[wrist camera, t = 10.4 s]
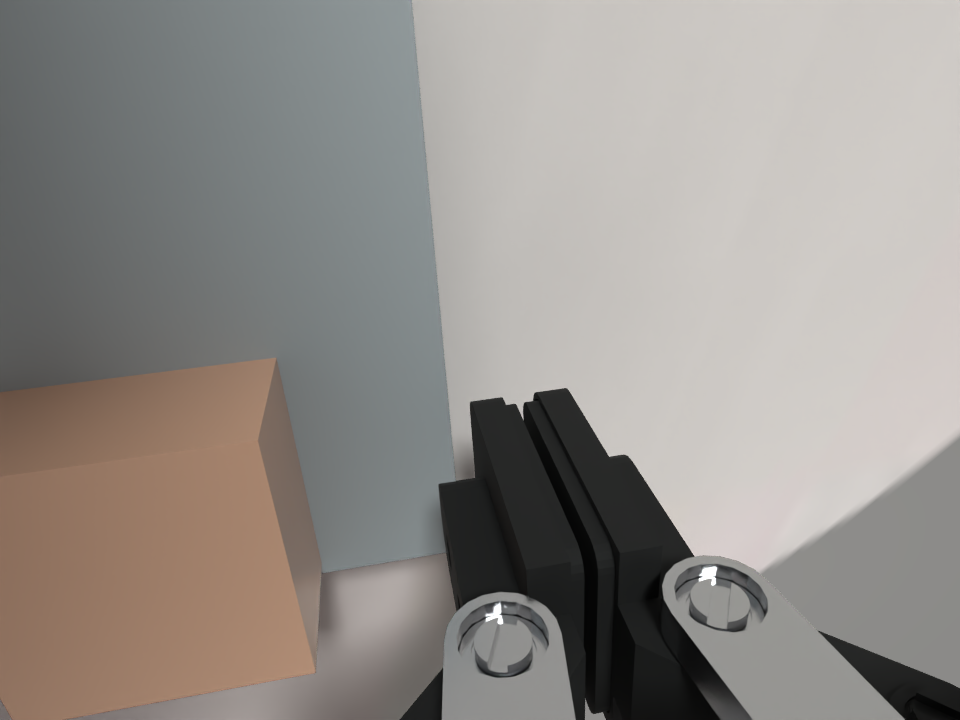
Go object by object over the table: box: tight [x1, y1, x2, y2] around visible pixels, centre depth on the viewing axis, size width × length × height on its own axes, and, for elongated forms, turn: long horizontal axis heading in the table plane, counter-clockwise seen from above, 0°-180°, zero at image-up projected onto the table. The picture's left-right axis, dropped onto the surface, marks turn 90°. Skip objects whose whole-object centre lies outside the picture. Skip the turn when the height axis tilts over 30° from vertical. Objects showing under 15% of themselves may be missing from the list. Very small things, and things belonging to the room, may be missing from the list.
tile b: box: [0, 358, 322, 720], centre depth 11 cm, size 4×4×2 cm
